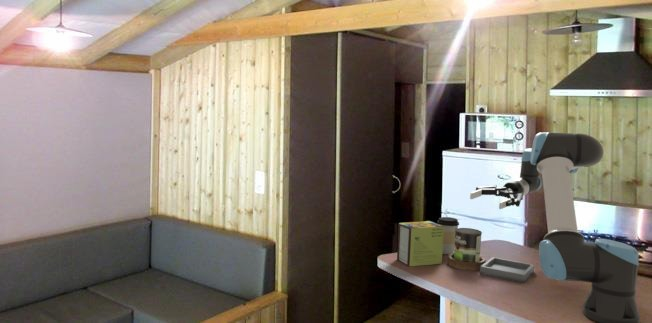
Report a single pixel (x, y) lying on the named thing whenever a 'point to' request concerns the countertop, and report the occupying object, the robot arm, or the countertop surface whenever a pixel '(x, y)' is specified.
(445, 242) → the coffee cup
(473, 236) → the coffee can
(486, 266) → the tray
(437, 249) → the protein box
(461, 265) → the holder ring
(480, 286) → the countertop surface
